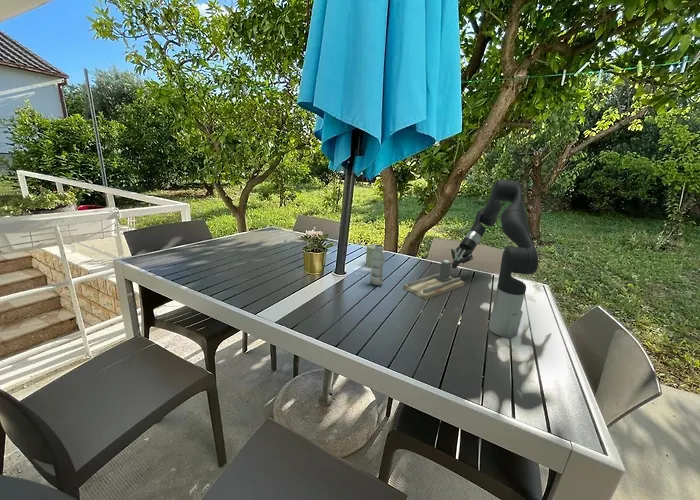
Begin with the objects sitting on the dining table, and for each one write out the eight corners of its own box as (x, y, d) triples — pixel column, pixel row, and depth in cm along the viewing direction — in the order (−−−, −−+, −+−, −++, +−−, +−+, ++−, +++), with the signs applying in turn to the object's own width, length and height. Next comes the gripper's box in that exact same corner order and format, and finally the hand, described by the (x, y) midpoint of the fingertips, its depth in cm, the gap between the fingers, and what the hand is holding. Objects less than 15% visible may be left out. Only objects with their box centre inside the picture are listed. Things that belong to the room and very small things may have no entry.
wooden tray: (464, 285, 159) (465, 279, 158) (426, 299, 141) (427, 292, 140) (441, 276, 170) (442, 270, 168) (403, 288, 152) (404, 281, 151)
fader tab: (451, 280, 158) (454, 261, 155) (445, 283, 155) (448, 263, 152) (441, 276, 163) (444, 258, 159) (435, 278, 160) (438, 259, 157)
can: (373, 261, 187) (374, 242, 183) (384, 266, 180) (386, 246, 177) (362, 264, 181) (363, 244, 178) (373, 269, 175) (374, 248, 171)
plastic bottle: (382, 287, 152) (385, 248, 145) (368, 285, 153) (371, 247, 147) (383, 282, 158) (386, 244, 151) (370, 280, 159) (373, 243, 153)
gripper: (457, 234, 167) (440, 259, 164) (480, 240, 157) (462, 267, 154) (461, 242, 172) (444, 267, 168) (483, 248, 162) (466, 275, 159)
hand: (453, 267), depth 161 cm, fingers closed
